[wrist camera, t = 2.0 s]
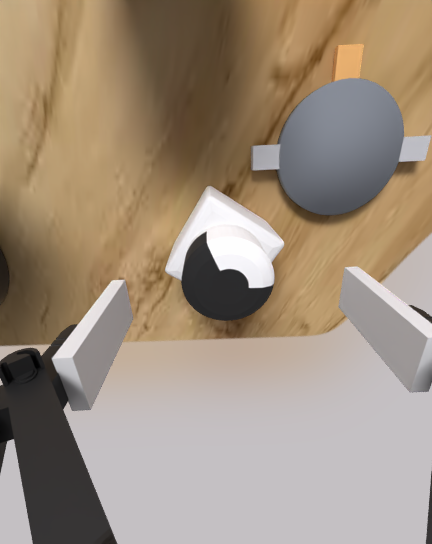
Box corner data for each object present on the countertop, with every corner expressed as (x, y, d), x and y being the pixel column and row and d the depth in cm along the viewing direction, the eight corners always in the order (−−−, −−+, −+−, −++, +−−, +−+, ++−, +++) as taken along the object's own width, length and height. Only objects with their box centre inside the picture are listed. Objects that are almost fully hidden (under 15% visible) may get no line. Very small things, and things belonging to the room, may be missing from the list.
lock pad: (250, 217, 27) (252, 220, 26) (251, 52, 21) (253, 47, 20) (403, 207, 27) (412, 210, 26) (443, 42, 22) (456, 36, 20)
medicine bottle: (230, 276, 30) (244, 349, 19) (173, 244, 28) (151, 304, 17) (268, 221, 27) (309, 268, 16) (208, 183, 25) (209, 207, 15)
